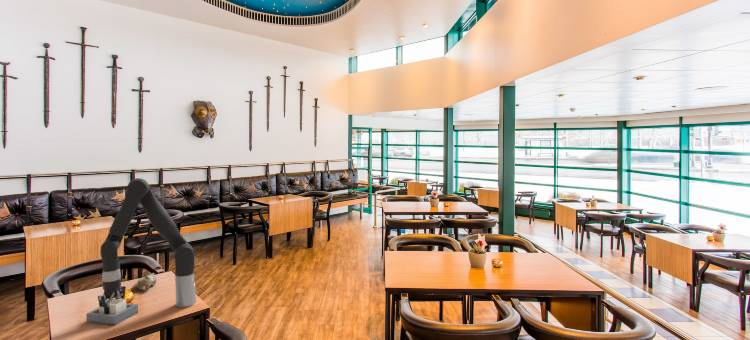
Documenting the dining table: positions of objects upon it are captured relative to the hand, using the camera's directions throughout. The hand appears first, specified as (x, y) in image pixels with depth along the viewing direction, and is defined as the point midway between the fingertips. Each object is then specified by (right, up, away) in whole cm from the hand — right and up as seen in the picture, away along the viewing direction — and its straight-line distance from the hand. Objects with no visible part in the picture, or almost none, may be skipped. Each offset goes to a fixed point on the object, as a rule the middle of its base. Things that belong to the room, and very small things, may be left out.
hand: (113, 310), depth 186 cm
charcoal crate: (0, -4, 0) cm, 4 cm away
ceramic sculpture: (-7, -1, +37) cm, 38 cm away
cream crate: (0, -1, 0) cm, 1 cm away
